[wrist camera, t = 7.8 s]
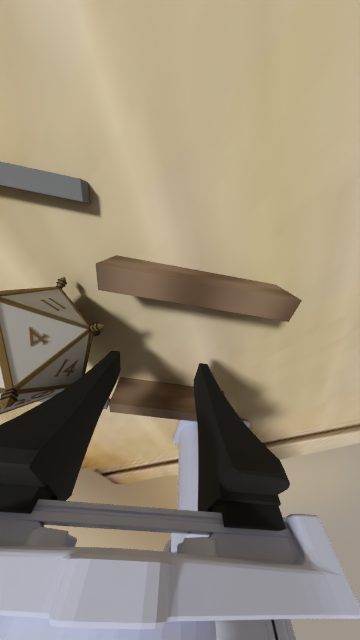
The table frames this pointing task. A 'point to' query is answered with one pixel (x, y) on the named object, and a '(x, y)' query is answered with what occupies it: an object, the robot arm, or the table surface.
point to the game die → (40, 344)
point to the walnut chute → (190, 291)
